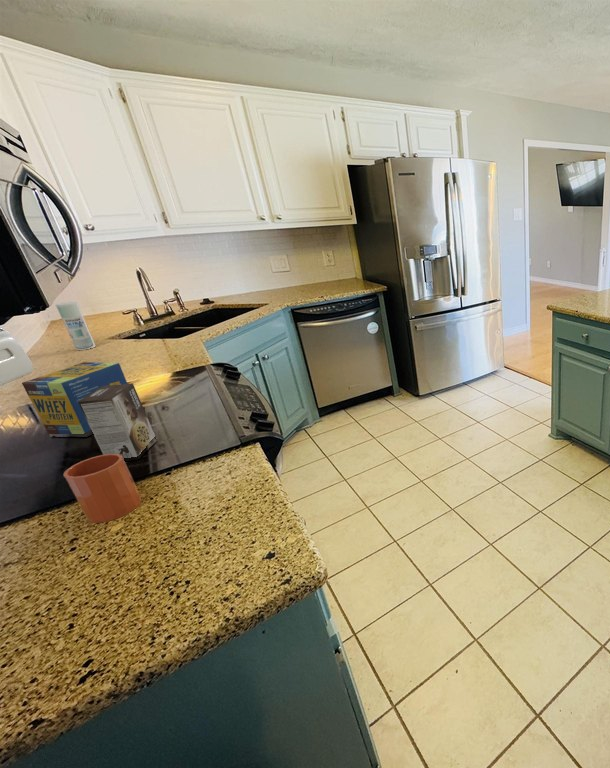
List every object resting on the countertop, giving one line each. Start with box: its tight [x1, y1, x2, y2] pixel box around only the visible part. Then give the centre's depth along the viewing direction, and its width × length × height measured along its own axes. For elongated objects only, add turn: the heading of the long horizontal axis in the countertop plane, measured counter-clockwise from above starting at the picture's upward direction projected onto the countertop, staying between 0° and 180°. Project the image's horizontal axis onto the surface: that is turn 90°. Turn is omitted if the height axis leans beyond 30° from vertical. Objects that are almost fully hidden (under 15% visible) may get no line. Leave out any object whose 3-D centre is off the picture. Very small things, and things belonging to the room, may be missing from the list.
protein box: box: [21, 361, 128, 435], centre depth 108 cm, size 10×15×16 cm
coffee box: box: [78, 382, 156, 459], centre depth 94 cm, size 9×6×16 cm
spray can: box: [55, 301, 96, 351], centre depth 174 cm, size 6×6×20 cm
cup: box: [63, 454, 142, 524], centre depth 76 cm, size 8×8×10 cm
